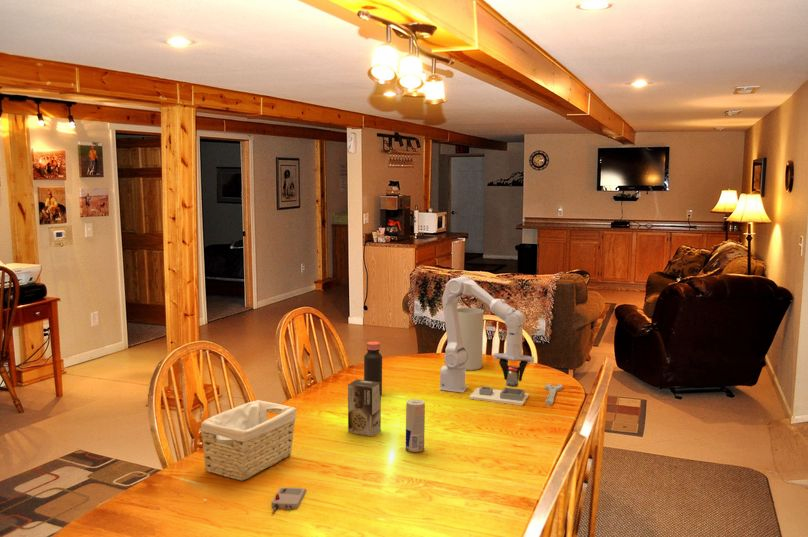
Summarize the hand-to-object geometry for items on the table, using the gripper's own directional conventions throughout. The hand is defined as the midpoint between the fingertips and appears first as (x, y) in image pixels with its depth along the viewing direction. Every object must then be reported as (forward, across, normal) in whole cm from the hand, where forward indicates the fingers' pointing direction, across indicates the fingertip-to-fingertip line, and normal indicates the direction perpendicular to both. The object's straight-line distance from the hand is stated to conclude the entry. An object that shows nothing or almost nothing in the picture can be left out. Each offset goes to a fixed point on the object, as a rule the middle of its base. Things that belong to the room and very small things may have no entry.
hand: (513, 379), depth 255 cm
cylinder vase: (+8, -27, +37) cm, 46 cm away
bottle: (+8, -50, -15) cm, 53 cm away
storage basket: (+8, -58, -86) cm, 104 cm away
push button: (+2, 0, -1) cm, 2 cm away
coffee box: (+8, -38, -51) cm, 64 cm away
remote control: (+8, -37, -102) cm, 109 cm away
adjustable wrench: (+8, +12, +11) cm, 18 cm away
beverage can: (+8, -18, -59) cm, 62 cm away
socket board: (+8, -5, 0) cm, 9 cm away
